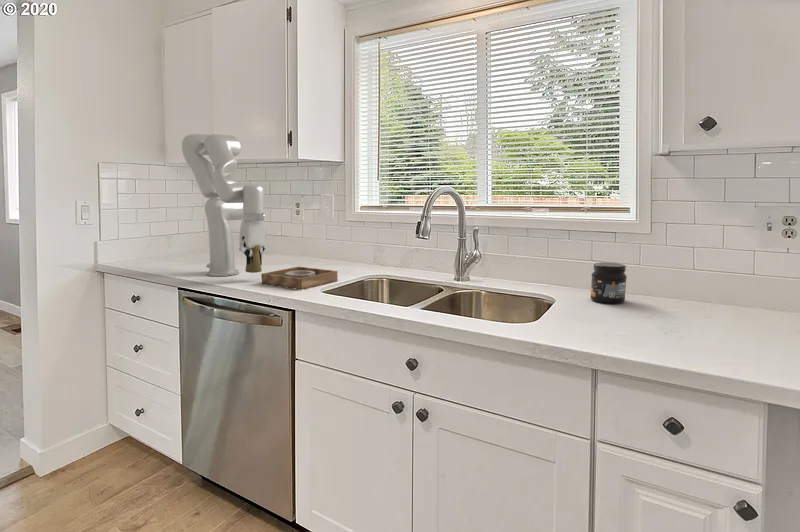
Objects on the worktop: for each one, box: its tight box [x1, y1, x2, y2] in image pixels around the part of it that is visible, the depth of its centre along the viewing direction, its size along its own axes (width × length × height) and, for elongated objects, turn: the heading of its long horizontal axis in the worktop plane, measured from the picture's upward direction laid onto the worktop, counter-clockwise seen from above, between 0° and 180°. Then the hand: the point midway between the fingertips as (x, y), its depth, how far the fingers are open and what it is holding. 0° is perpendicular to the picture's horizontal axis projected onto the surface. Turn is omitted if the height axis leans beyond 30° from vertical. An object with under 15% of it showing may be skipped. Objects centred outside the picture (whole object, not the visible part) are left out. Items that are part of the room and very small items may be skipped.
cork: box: [245, 245, 263, 274], centre depth 199 cm, size 6×6×11 cm
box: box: [261, 266, 338, 290], centre depth 198 cm, size 20×20×4 cm
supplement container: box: [590, 262, 628, 305], centre depth 167 cm, size 10×10×12 cm
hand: (254, 265), depth 200 cm, fingers closed on cork, 3 cm apart
